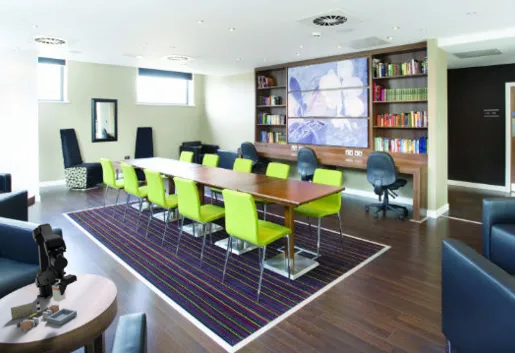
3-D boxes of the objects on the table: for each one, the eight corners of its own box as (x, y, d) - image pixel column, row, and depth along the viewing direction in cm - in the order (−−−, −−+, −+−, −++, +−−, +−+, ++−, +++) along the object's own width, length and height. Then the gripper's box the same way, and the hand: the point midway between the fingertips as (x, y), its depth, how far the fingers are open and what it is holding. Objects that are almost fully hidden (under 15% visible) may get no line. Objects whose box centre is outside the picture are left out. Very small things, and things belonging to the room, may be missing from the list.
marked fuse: (53, 300, 173) (51, 284, 172) (60, 297, 177) (58, 281, 175) (59, 301, 172) (57, 285, 171) (65, 298, 175) (64, 282, 174)
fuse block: (16, 326, 169) (16, 321, 169) (47, 309, 184) (46, 305, 184) (27, 329, 167) (27, 324, 167) (57, 312, 182) (57, 307, 181)
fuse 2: (49, 313, 181) (48, 305, 180) (54, 310, 184) (54, 302, 183) (54, 314, 180) (53, 306, 179) (59, 311, 183) (58, 303, 182)
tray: (46, 322, 173) (46, 317, 173) (63, 312, 182) (63, 307, 182) (60, 325, 170) (60, 321, 170) (77, 315, 179) (76, 310, 179)
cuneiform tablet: (40, 315, 180) (11, 322, 173) (40, 313, 183) (11, 320, 177) (39, 301, 180) (10, 307, 173) (39, 299, 184) (10, 305, 177)
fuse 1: (21, 329, 167) (20, 321, 166) (27, 326, 170) (26, 318, 169) (25, 330, 166) (24, 322, 165) (31, 327, 169) (30, 319, 168)
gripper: (25, 267, 167) (29, 299, 170) (55, 272, 161) (59, 305, 163) (47, 258, 178) (50, 288, 180) (76, 263, 171) (79, 294, 174)
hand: (59, 294), depth 174 cm, fingers closed on marked fuse, 4 cm apart
